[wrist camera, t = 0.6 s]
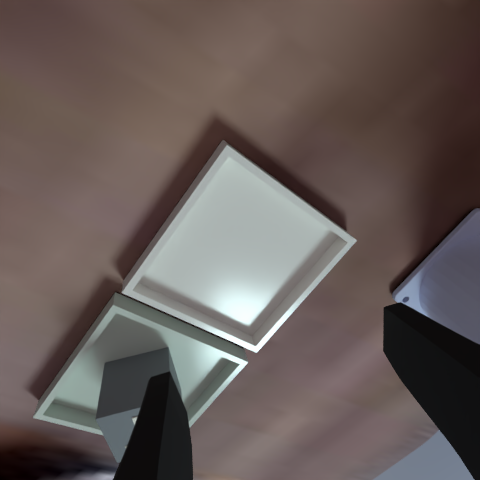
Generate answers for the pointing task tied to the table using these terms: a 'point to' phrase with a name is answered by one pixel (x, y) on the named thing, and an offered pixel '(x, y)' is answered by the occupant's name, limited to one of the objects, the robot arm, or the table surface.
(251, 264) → the tray
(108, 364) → the letter cube
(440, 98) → the table surface
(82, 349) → the tray
